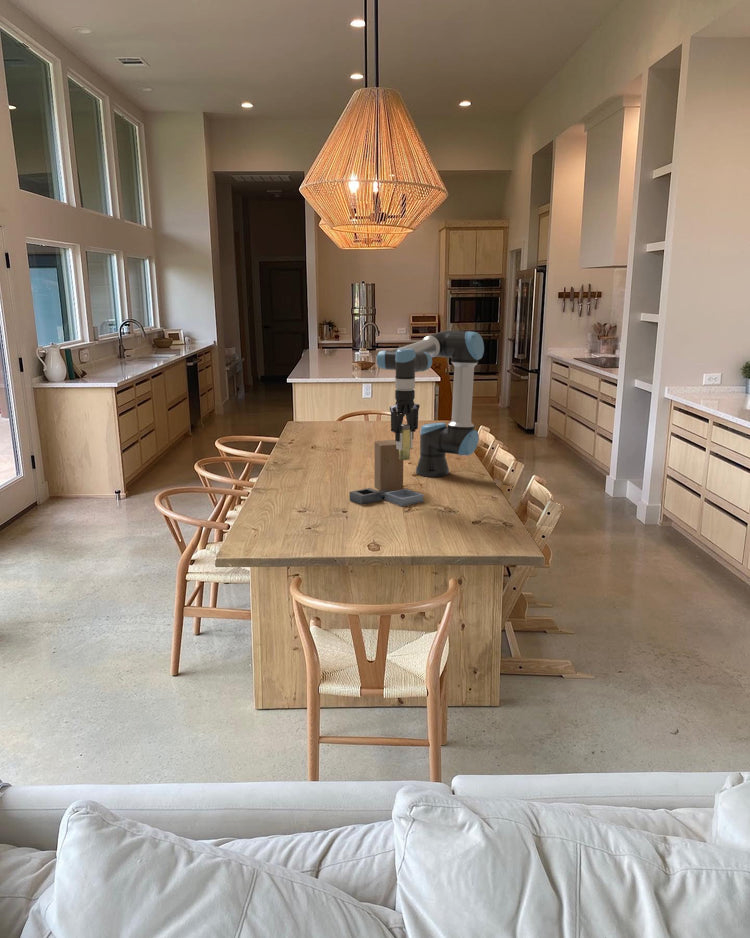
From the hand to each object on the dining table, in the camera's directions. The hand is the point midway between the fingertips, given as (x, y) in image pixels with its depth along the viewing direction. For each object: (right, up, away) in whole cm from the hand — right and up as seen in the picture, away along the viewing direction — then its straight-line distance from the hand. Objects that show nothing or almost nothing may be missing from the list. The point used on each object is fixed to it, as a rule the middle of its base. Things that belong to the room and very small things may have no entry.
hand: (404, 448), depth 289 cm
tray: (0, -21, +5) cm, 21 cm away
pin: (0, -4, +1) cm, 4 cm away
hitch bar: (-12, -20, +8) cm, 25 cm away
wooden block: (-6, -17, +23) cm, 29 cm away
